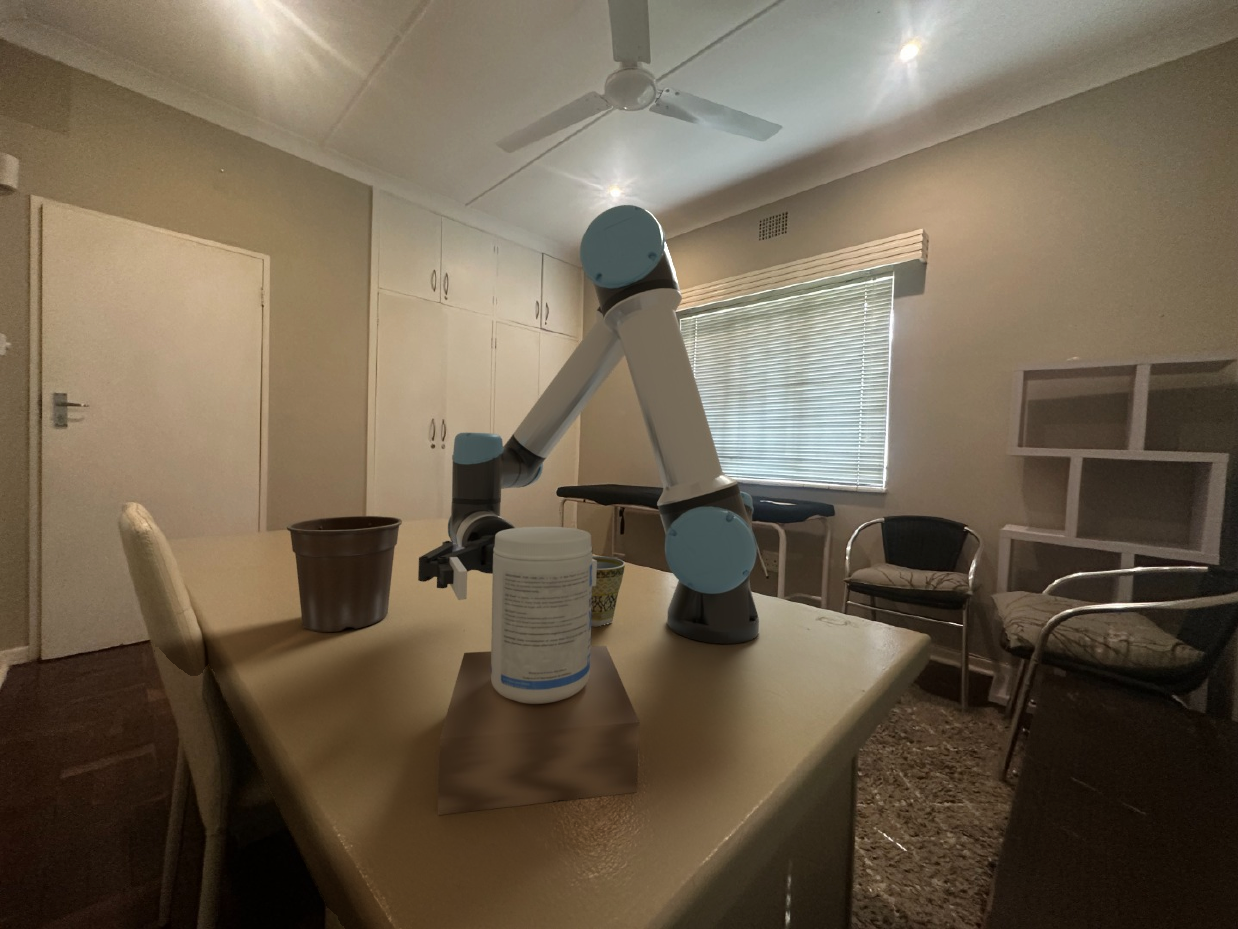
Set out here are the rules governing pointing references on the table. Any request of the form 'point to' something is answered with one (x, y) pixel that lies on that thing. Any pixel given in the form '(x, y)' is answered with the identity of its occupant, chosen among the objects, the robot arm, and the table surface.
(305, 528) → the plant pot
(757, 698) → the table surface
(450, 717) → the block
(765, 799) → the table surface
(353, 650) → the table surface
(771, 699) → the table surface
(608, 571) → the ceramic cup
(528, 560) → the supplement tub
